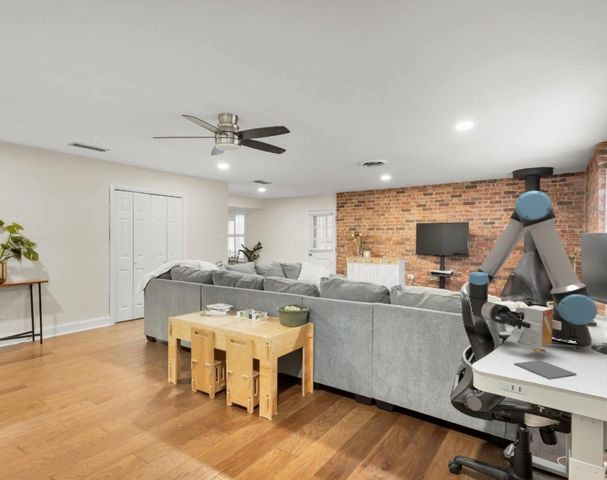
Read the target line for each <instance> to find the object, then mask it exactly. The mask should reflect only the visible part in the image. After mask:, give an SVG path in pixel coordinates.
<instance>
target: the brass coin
mask: <svg viewBox="0 0 607 480" xmlns="http://www.w3.org/2000/svg"><path fill="white" fill-rule="evenodd" d="M532 350H533V352H537V353H540V354H545V353H546V352H547V350H545V349H543V348H539V347H538V348H537V347H534V348H533V347H532Z"/></svg>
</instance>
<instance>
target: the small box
mask: <svg viewBox="0 0 607 480" xmlns="http://www.w3.org/2000/svg"><path fill="white" fill-rule="evenodd" d="M523 311H524V312H523V313H524V320H526V321H530V322H534V323H538V324H541V332H537V331H533V330H530V329H526V328H523V343H524V344H528V345H530V346H531V345H532V346H536V347H541V348H543V347H545V346H548V345H551V344H552V343H553V342H552V341H553V340H552V321H553V307H547V306H541V305H530V306H526V307H524V310H523Z"/></svg>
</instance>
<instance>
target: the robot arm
mask: <svg viewBox="0 0 607 480" xmlns="http://www.w3.org/2000/svg"><path fill="white" fill-rule="evenodd" d="M552 205H553V204H552V199H551V198H550V197H549V196H548V195H547V194H546V193H545V192H543V191H539V190H530V191H526V192H524V193H522V194H520V195H519V196H518V197H517V199H516V202H515V205H514V206H515V207H514V210H513V212H512V213H511V215H510V217H509V223H508V224H507V226H506V227H505V229H504V231H503V232H502V233H501V235H500V237H498V239H497V241H496V242H495V244H494V245H493V247H492V249H491V250H490V251H489V253H488V255H487V256H486V257H485V259H484V260H483V262H482V264H481V265H480V266H479V268H478V270H477V271H471V272H470V273H469V278H468V298H470V302H471V307H472V312H473V315H474V316H473V317H476V318H480V319H484V320H487V321H488V322H490V323H491V322H494V323H497V324H501V325H508V326H510V327H513V328H516V327H517V329H518V330H521V329H522V328H523V329H524V328H526V329H530V330H533V331H537V332H541V324H538V323H534V322H530V321H526V320H524V312H522V311H520V312H517V311H516V310H515V311H514V310H511V309H510V307H508V306H507V305H503V304H499V303H495V302H490V301H489V287H490V286H491V284H492V282H493V280H494V279H495V278H496V276H497V275H498V274H499V272H500V270H501V269H502V267H503V266H504V264H505V263H506V262H507V260H508V259H509V258H510V255H512V253H513V252H514V251H515V248H516V247H517V246H518V244H519V243H520V241H521V240H522V239H523V238H524V236H525V234H526V232H527V231H529V233H530V235H531V237H532V241H533V243H534V245H535V247H536V249H537V251H538V255H539V257H540V259H541V261H542V263H543V266H544V268H545V270H546V273H547V276H548V278H549V280H550V283H551V285H552V289H551V290H550V294H551V297H552V299H553V300H552V301H553V302H552V303H553V304H552V308H553V321H552V337H554V338H557V339H563V340H572V341H576V343H577V345H576V346H590V345H592V342H593V341H592V340H593V339H592V336H591V332H590V330H589V326H588V324H589V323H591V322H593V320H594V319H595V318H596V317H597V315H598V305H597V304H596V302H595V300H593V299H592V297H591V294H590V292H589V288H588V287H587V285H586V284H585V283H583V282H581V281H579V278H578V275H577V274H576V272H575V270H574V267H573V265H572V263H571V260H570V258H569V256H568V253H567V250H566V248H565V246H564V244H563V242H562V239H561V237H560V234H559V232H558V230H557V228H556V227H557V226H555V222H556V220H557V216H556V214H555V211H554V209H553V207H552Z"/></svg>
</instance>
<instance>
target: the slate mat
mask: <svg viewBox="0 0 607 480" xmlns="http://www.w3.org/2000/svg"><path fill="white" fill-rule="evenodd" d="M514 365H515V366H517V367H519V368H521V369H524V370H526V371H529V372H531V373H534V374H536V375H538V376H540V375H541V377H542V378H545V377H546V379H547V378H548V380H554V379H560V378H566V377H572V376H577V373H575V372H573V371H570V370H567V369H565V368H562V367H560V366H557V365H554V364H552V363H550V362H546V361H544V360H541V359H539V360H538V359H537V360H532V361H523V362H522V361H521V362H515V363H514ZM553 378H554V379H553Z"/></svg>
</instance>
